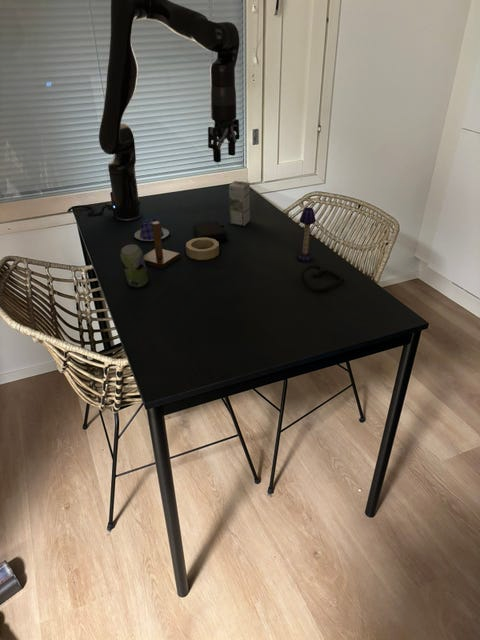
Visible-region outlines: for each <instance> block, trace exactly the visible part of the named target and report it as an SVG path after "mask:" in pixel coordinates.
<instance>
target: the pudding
mask: <svg viewBox="0 0 480 640" xmlns="http://www.w3.org/2000/svg"><path fill="white" fill-rule="evenodd" d="M155 221H158V222H160V221H159V219H155V218H147V219H145V220H142V222H141V226H140V229H138V230H137V231H136V232H134V235H133V236H134V238H135V239H137V240H139V241H145V242H154V234H153V226H152V223H153V222H155ZM160 232H161V240H162V239H165V238H166V237H168V236H169V234H170V231H169V229H166V228H164V227H162V226H161V225H160Z"/></svg>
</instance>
